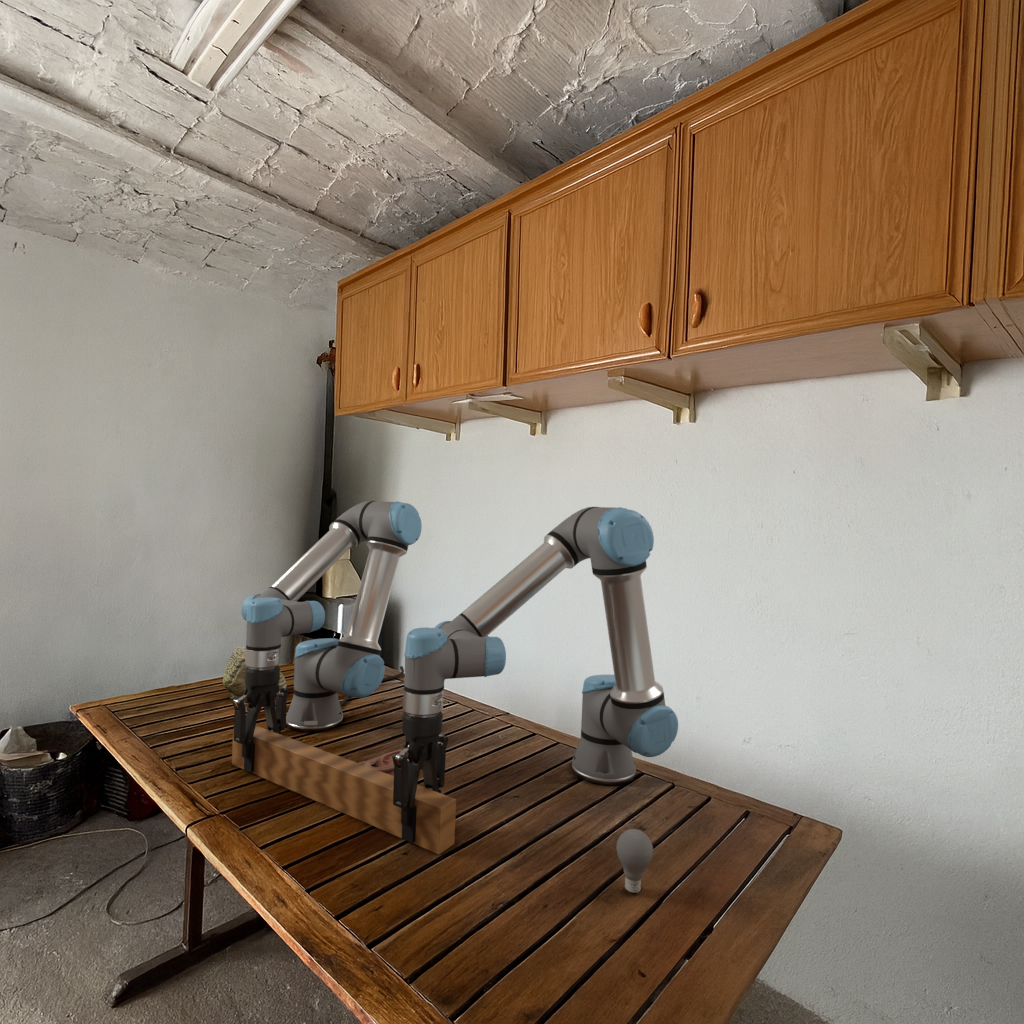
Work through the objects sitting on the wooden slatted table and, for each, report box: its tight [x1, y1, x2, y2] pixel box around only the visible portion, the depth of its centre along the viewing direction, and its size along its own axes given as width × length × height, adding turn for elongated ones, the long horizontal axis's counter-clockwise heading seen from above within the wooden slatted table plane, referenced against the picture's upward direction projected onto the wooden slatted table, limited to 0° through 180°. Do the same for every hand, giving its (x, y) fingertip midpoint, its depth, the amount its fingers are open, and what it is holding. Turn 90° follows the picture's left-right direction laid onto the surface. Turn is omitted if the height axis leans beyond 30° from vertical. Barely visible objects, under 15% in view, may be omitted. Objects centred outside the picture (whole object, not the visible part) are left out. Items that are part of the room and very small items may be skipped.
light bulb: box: [615, 828, 654, 894], centre depth 106 cm, size 6×6×10 cm
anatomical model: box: [358, 749, 403, 776], centre depth 146 cm, size 13×4×12 cm
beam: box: [231, 725, 457, 855], centre depth 133 cm, size 62×5×8 cm, turn 57°
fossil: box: [222, 646, 288, 699], centre depth 198 cm, size 9×18×15 cm, turn 132°
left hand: (259, 766), depth 146 cm, fingers closed on beam, 5 cm apart
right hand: (417, 833), depth 120 cm, fingers closed on beam, 5 cm apart
